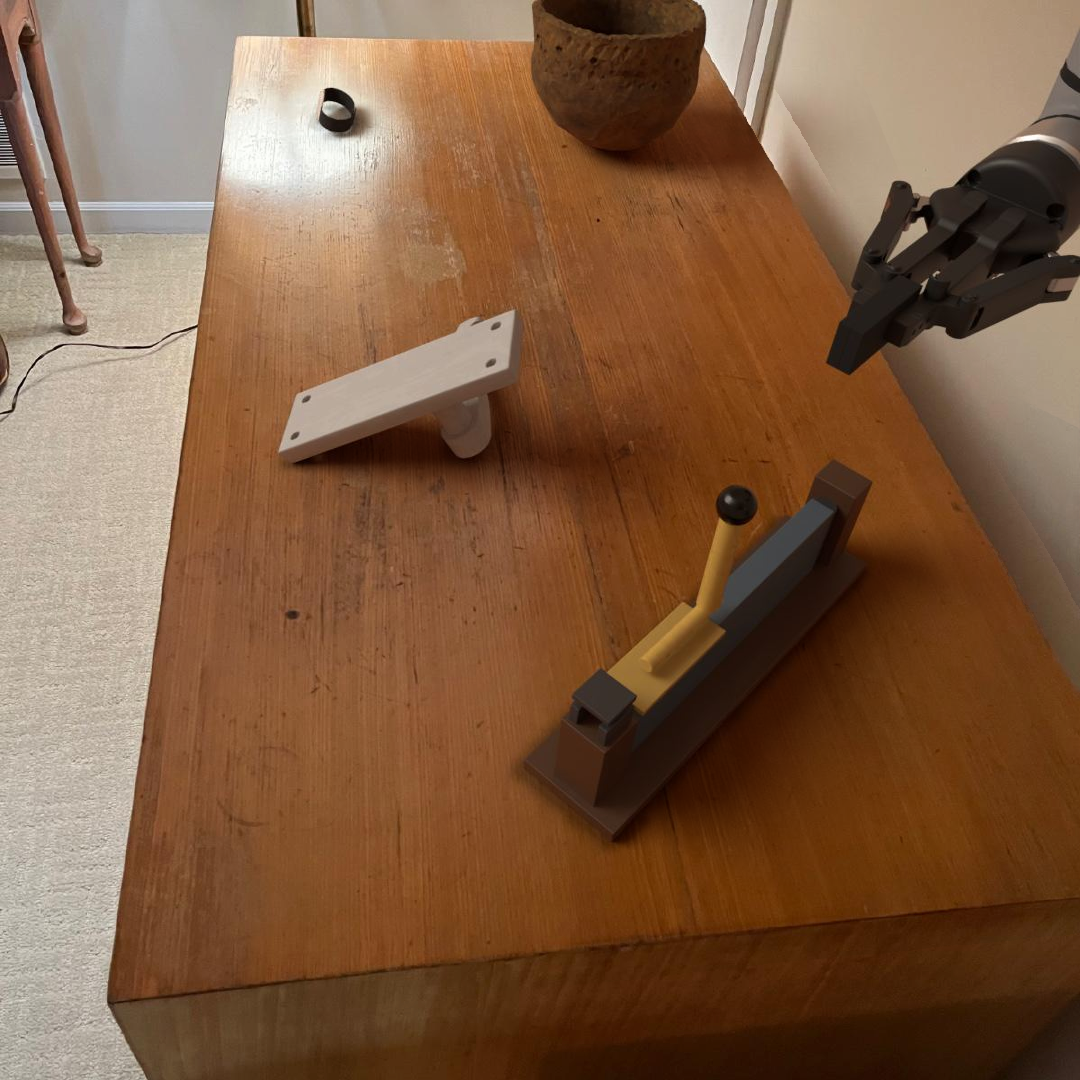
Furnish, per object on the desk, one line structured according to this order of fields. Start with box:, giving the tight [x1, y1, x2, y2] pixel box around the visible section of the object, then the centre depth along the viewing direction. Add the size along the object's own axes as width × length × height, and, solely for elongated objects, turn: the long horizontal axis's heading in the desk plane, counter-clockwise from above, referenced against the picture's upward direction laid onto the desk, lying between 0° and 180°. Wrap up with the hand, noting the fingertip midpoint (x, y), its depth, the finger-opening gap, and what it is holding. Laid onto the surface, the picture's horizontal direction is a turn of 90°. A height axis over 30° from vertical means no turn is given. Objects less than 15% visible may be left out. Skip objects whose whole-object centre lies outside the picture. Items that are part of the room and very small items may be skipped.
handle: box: [277, 308, 524, 464], centre depth 82 cm, size 18×8×20 cm
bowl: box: [530, 0, 707, 152], centre depth 113 cm, size 19×19×15 cm
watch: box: [314, 87, 357, 134], centre depth 116 cm, size 8×5×4 cm, turn 6°
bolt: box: [639, 484, 759, 673], centre depth 56 cm, size 7×2×10 cm, turn 138°
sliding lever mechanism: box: [523, 458, 873, 843], centre depth 65 cm, size 29×7×9 cm, turn 138°
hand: (844, 348), depth 54 cm, fingers closed
